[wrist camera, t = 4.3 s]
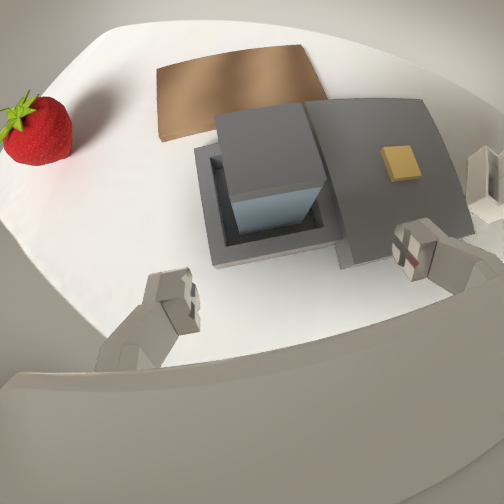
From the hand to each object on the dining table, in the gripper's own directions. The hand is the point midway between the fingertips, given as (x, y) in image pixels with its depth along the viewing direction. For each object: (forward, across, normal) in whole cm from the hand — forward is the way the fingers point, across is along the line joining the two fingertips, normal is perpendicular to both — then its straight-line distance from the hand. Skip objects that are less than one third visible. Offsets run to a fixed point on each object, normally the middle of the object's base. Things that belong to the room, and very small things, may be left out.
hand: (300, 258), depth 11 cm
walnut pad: (+18, 0, -5) cm, 19 cm away
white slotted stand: (+9, -21, +4) cm, 23 cm away
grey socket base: (+10, -6, +3) cm, 12 cm away
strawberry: (+17, +17, -4) cm, 24 cm away
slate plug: (+10, 0, +2) cm, 11 cm away
